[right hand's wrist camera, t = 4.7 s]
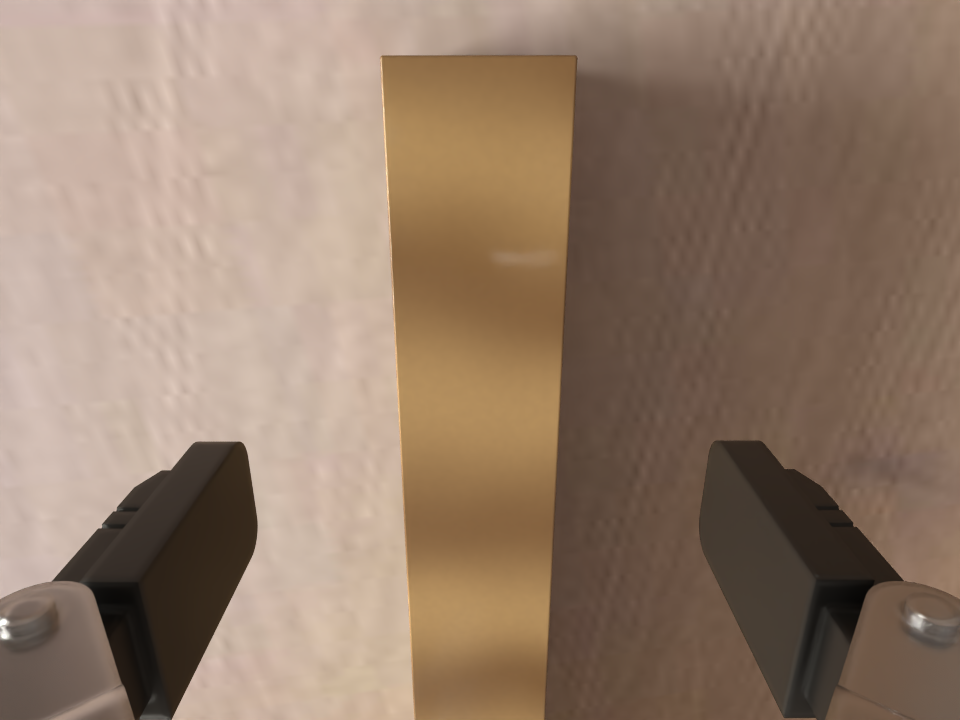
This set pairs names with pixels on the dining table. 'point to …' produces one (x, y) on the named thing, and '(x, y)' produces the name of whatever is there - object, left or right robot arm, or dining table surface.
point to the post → (479, 364)
